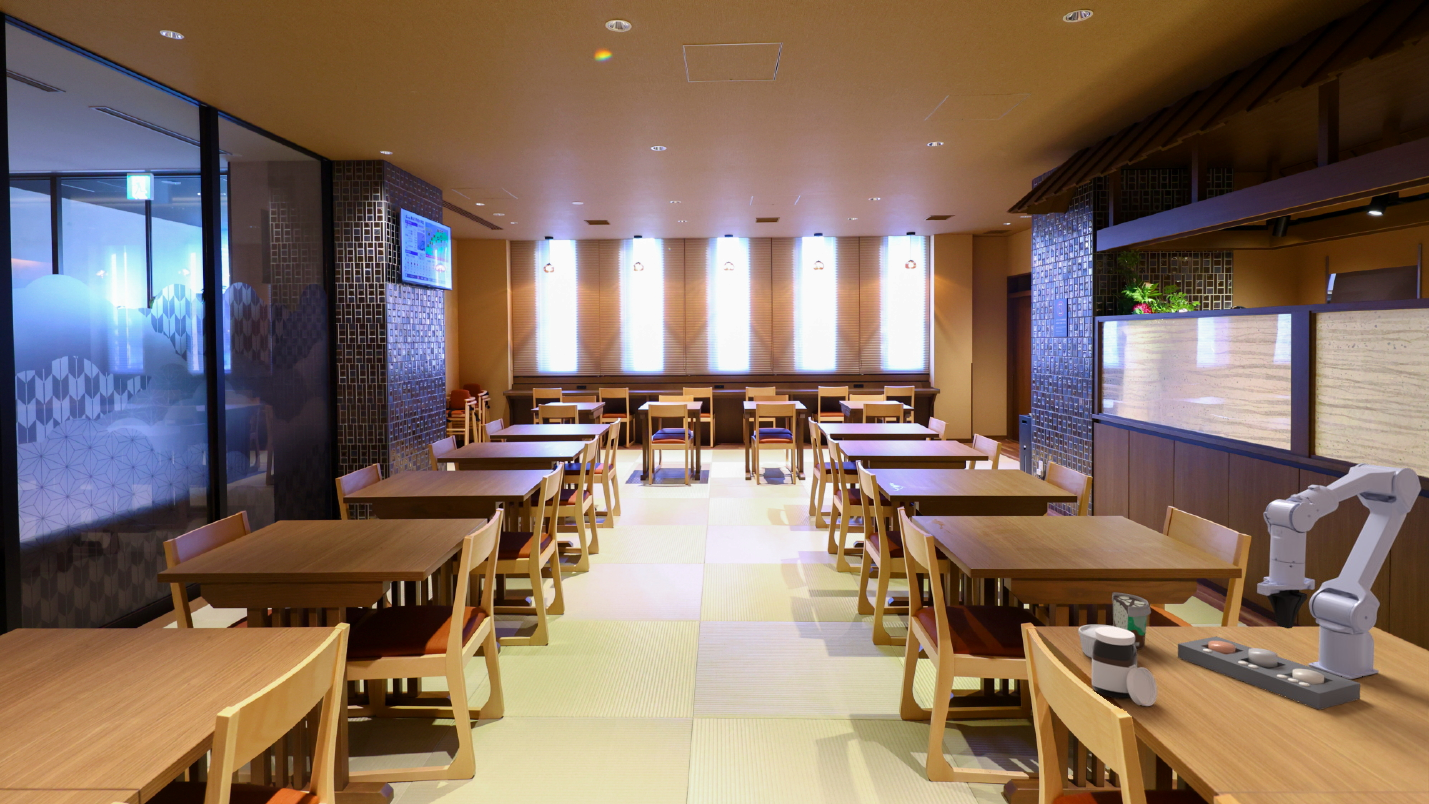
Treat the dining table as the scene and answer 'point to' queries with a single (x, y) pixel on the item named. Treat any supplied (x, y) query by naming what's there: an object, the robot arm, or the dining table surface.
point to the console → (1271, 674)
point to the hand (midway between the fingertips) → (1284, 626)
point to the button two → (1262, 657)
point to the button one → (1222, 647)
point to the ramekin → (1089, 637)
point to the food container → (1131, 615)
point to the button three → (1308, 676)
